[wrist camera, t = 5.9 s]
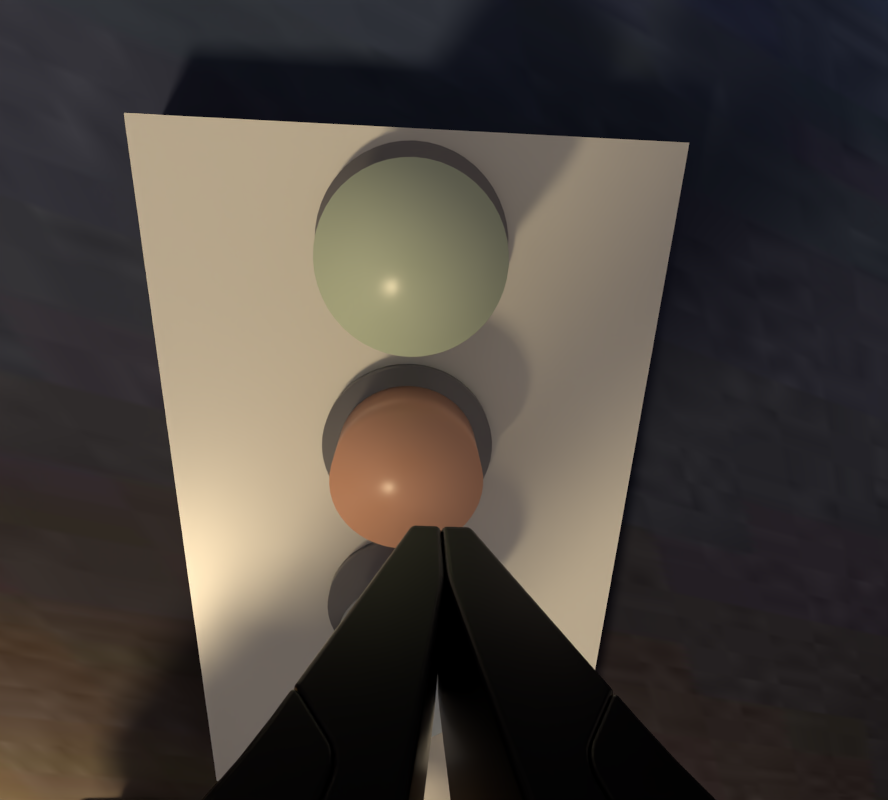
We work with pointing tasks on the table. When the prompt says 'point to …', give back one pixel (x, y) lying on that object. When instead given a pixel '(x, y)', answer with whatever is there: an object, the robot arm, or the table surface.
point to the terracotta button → (405, 465)
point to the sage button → (410, 256)
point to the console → (387, 374)
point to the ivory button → (437, 771)
